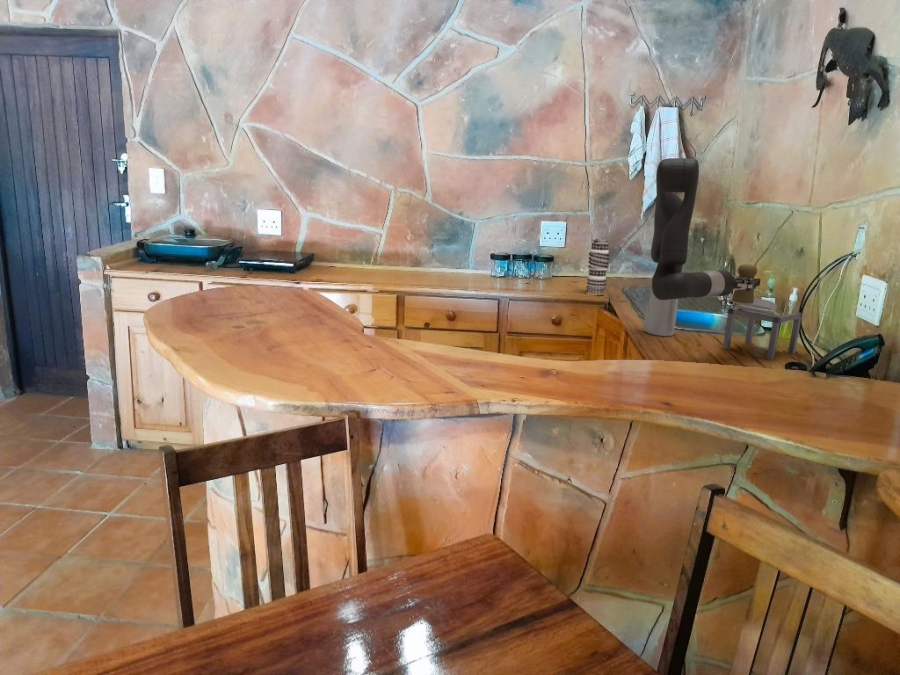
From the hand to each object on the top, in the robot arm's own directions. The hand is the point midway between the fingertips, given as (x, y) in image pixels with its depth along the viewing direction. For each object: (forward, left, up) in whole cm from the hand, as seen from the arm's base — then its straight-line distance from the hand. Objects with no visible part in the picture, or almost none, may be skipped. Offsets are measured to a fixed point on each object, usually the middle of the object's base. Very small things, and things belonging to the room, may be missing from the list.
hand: (752, 280), depth 192 cm
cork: (-1, -3, -6) cm, 7 cm away
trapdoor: (0, +9, -11) cm, 14 cm away
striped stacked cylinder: (-92, +44, -24) cm, 105 cm away
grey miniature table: (0, +12, -23) cm, 26 cm away
